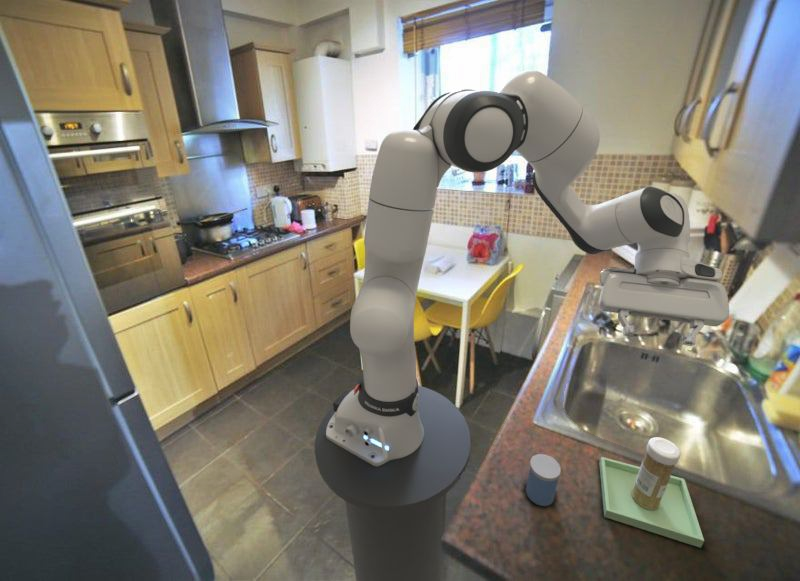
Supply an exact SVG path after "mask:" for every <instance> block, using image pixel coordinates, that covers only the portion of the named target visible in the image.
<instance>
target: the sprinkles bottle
mask: <svg viewBox="0 0 800 581" xmlns="http://www.w3.org/2000/svg"><path fill="white" fill-rule="evenodd" d="M645 449H646V450H645V454H644V457H643V459H642V461H641V464H640V466H639V467H640V469H639V472H638V475H637V478H636V483H635V486H634V488H633V490H632V492H631V493H632V497H633V499H634V500H635V501H636V502H637V503H638V504H639V505H640V506H642V507H643V508H646V509H649V510H655V509H657V508H659V506H660V501H661V499H662V496H663V495H664V492H665V490H666V487H667V485H668V482H669V479H670V476H672V473H673V471H674V468H675V466H676V465H677V464H678V463H679V460H680V457H681V450H680V448H679V447H678V446H677V445H676V444H675V443H674V442H672V441H671V440H669V439H666V438H664V437H659V436H658V437H657V436H656V437H652V438H650V439H649V440H648V442H647V445H646V448H645Z"/></svg>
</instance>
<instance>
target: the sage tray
mask: <svg viewBox="0 0 800 581" xmlns="http://www.w3.org/2000/svg"><path fill="white" fill-rule="evenodd" d="M598 464H599V474H600V488H601V496H602V497H601V498H602V506H603V507H602V509H603V517H604V518H606V519H609V520H613V521H615V522H618V523H621V524H624V525H628V526H631V527H634V528H636V529H637V528H638V529H640V530H644V531H646V532H650V533H653V534H656V535H659V536H662V537H665V538H669V539H670V540H671V539H672V540H675V541H678V542H680V543H684V544H687V545H690V546H693V547H696V548H700V549H701V548H702V546H703V545H704V542H705V538H704V536H703V532H702V529H701V526H700V523H699V520H698V517H697V514H696V511H695V507H694V505H693V501H692V498H691V495H690V492H689V489H688V485H687V483H686V479H685V478H683V477H678V476H674V475H671V476H670V479H669V482H668V485H667V487H666V490H665V492H664V495H663V496H662V499H661V501H660V506H659V508H657V509H655V510H649V509H646V508H643V507H642V506H640V505H639V504H638V503H637V502H636V501H635V500H634V499H633V497H632V493H631V492H632V490H633V488H634V486H635V483H636V478H637V475H638V472H639V469H640V467H641V466H637V465H634V464H630V463H627V462H624V461H623V462H622V461H619V460H615V459H611V458H608V457H604V456H601V457H600V459H599V462H598Z"/></svg>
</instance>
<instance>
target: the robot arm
mask: <svg viewBox="0 0 800 581" xmlns="http://www.w3.org/2000/svg"><path fill="white" fill-rule="evenodd" d="M600 137H601V136H600V128H599V126H598V124H597V122H596V120H595V119H594V117H593V116H592V115H591V113H590V112H589V111H588V110H587V109H586V108H585V106H584V105H582V103H581V102H580V101H578V100H577V99H576V97H574V95H572V94H571V93H570V92H569V91H568V90H567V89H566V88H564V87H563V86H561V85H560V84H559V83H558V82H556V81H555V80H553V79H552V78H550V77H549V76H547V75H546V74H544V73H543V72H541V71H538V70H535V69H525V70H522V71H520V72H518V73H516V74H515V75H513V76H511V78H509V79H508V80H506V82H505V83H504V84H503V85H502V86H501V88H499V91H492V90H476V89H469V88H468V89H467V88H465V89H460V90H459V89H458V90H455V91H450V92H446V93H444V94H442V95H440V96H438V97H436V98H435V99H434V100H433V101H432V102H431V103H430V104H429V106H427V108H426V110H425V111H424V113H423V114H422V116H421V117H420V118H419V119H418V121H417V122H416V124H415V125H414V126H413V128H412V129H409V128H407V129H406V128H405V129H404V128H403V129H398V130H395V131H393V132H392V131H391V133H388V134H387V135H386V136H385V137H384V138H383V140H382V141H381V144H380V147H379V149H378V152H377V156H376V159H375V163H374V167H373V172H372V175H371V182H370V187H369V193H368V194H369V195H368V202H367V203H368V204H367V210H366V211H367V212H366V220H365V231H364V236H363V237H364V238H363V245H364V271H363V272H364V273H363V280H362V283H361V287H360V289H359V292H358V294H357V296H356V299H355V300H354V303H353V305H352V307H351V312H350V320H349V332H350V337H351V340H352V342H353V344H354V345H355V346H356V347H357V348H358V349H359V353H360V357H361V362H362V363H361V367H362V374H363V375H362V377H361V378H360V379H359V380H358V381H357V385H356V386H355V387H354V388H353V389H352V390H351V391H348V390H345V391H343V392H342V394H340V395H339V396H338V397H337V398H336V399H335V400H334V401H333V402H332V408H333V407H334V411H335V413H334V415H333V416H332V418H331V419H330V421H329V423H328V425H327V429H326V438H327V439H328V440H330V441H332V442H333V443H335V444H337V445H339V446H340V447H342V448H344V449H345V450H347V451H349V452H351V453H352V454H354V455H356V456H358V457H359V458H361V459H363V460H365V461H366V462H368V463H370V464H372V465H373V466H380V465H383V464H384V463H386V462H388V461H390V460H393V459H398V458H402V457H405V456H408V455H410V454H411V453H413V452H414V451H415V450H416V449H417V448H418V447H419V446H420V445H421V443H422V441H423V438H424V429H423V426H422V423H421V421H420V417H419V412H418V404H419V393H418V386H419V381H418V379H417V354H416V352H417V350H416V343H415V311H416V310H415V309H416V302H417V294H418V287H419V283H420V278H421V275H422V274H421V273H422V269H423V264H424V260H425V256H426V254H427V253H426V252H427V247H428V242H429V236H430V232H431V226H432V221H433V217H434V212H435V206H436V199H437V192H438V188H439V186H440V183H441V181H442V179H443V177H444V175H445V174H446V173H447V172H448V170H449V169H451V168H452V167H455V168H458V169H459V170H462V171H464V172H468V173H485V172H489V171H492V170H494V169H497V168H498V167H500V166H501V165H503V163H505V162H506V161H507V160H508V159H509V158H510V157H511V156H512V155H513V153H514V152H515V151H516V152H517V153H518V154H519V155H520V156H521V157H522V158H523V159H524V160H525V161H526V162H528V164H529V165H530V166H531V167H532V173H531V175H532V176H531V182H532V185H533V188H534V190H535V191H536V193H537V195H538V196H539V197H540V199H541V200H542V201H543V203H544V204H545V206H547V208H548V209H549V210H550V211H551V212H552V214H553V215H554V216H555V217H556V218H557V220H558V221H559V222H560V223H561V225H562V226H563V227H564V228H565V230H566V231H567V232H568V234H569V236H570V238H571V240H572V242H573V244H574V245H575V246H576V247H577V248H578V249H579V250H581V251H582V252H584V253H585V254H589V255H597V254H602V253H604V252H607V251H610V250H612V249H616V248H620V247H624V246H627V245H633V244H637V250H636V253H635V256H634V268H624V267H617V266H610V267H609V268H605V269H603V270H602V271H601V272H600V275H599V283H600V285H601V290H600V293H599V294H600V295H599V298H598V308H599V309H600V310H601V311H602V312H606V313H607V312H608V313H615V314H617V320H618V321H619V323H620V324H621V326H622V328H623V331H622V335H623V336H625V337H631V338H632V337H633V336H635V328H636V326H635V325H631V324H630V322H629V321H628V319H627V318H628V316H629V315H630V316H637V317H642V318H650V319H657V320H666V321H673V322H678V323H679V322H680V323H685V324H689V329H691V331H690V332H689V333H685V334H683V335H681V340H682V341H681V345H683V346H688V347H693V346H695V345H696V343H697V342H696V341H697V339H696V338H697V337H696V336H698V334H699V333H700V331H701V330H702V329H703V328H704V326H708V327H718V326H721V325H722V324H724V323H726V322H727V321H728V320H729V318H730V304H729V297H728V296H729V295H728V293H727V292H728V291H727V289H726V287H725V286H724V285H723V284H722V283H721V282H720V281H721V279H723V271H722V270H721V269H720V268H717V267H715V266H712V265H708V264H705V263H703V262H700V261H697V260H696V259H692V258H691V256H690V252H689V250H688V245H689V243H690V239H691V221H690V213H689V208H688V204H687V202H686V200H685V199H684V198H683V197H682V196H681V195H680V194H677V193H673V192H668V191H665V190H663V189H661V188H658V187H655V186H647V187H644V188H640V189H637V190H633V191H631V192H628V193H625V194H623V195H620V196H618V197H615V198H613V199H610V200H607V201H604V202H601V203H597V204H584V203H583V201H582V200H581V199H580V198H581V197H579V196H578V194H577V193H576V192H575V190H574V189H573V187H572V186H571V185H572V184H573V183H574V182H575V181H576V180H578V179H579V178H580V177H581V176H582V175H583V174H584V173H585V172H586V171H587V170H588V168H589V167H590V165H591V164H592V162H593V160H594V159H595V156H596V155H597V153H598V149H599V146H600ZM372 457H374V458H372Z"/></svg>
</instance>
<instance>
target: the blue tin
mask: <svg viewBox="0 0 800 581" xmlns="http://www.w3.org/2000/svg"><path fill="white" fill-rule="evenodd" d="M561 472H562V468H561V466H560V464H559V462H558V460H556V459H555V458H554V457H552V456H550V455H548V454H544V453H538V454H535V455H533V456H532V457H531V458H530V461H529V472H528V477H527V482H526V489H525V491H526V496H527V497H528V499H529V500H530V501H531V502H532V503H534V504H535V505H538V506H541V507H547V506H550V505H552V504H553V503H554V500H555V495H556V492H557V487H558V483H559V478H560V477H561Z"/></svg>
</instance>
